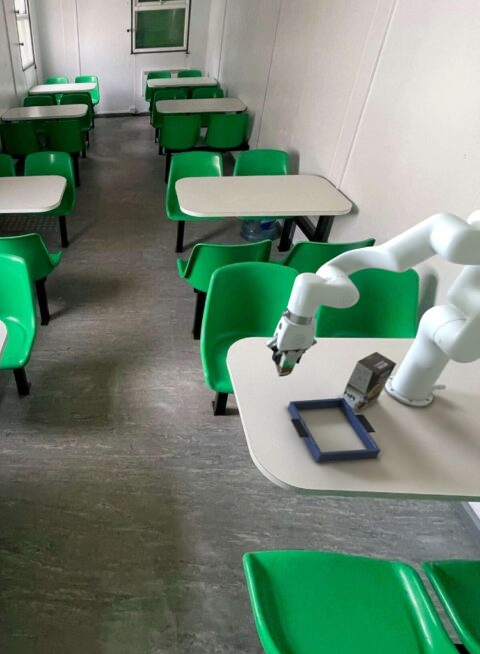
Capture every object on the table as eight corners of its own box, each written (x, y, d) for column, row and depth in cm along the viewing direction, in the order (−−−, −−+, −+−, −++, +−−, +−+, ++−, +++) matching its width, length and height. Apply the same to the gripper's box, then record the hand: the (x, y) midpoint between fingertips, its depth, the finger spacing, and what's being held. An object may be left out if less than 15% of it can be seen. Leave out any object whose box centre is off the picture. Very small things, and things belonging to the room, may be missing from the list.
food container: (301, 381, 126) (309, 356, 120) (279, 380, 127) (286, 355, 121) (291, 353, 136) (298, 329, 130) (271, 352, 136) (277, 328, 131)
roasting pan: (347, 404, 130) (351, 397, 128) (384, 457, 115) (389, 450, 113) (279, 409, 129) (282, 401, 127) (307, 463, 114) (311, 455, 112)
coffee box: (358, 412, 128) (377, 374, 118) (339, 398, 132) (356, 360, 123) (377, 401, 131) (397, 363, 121) (358, 387, 136) (376, 350, 126)
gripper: (275, 324, 116) (262, 371, 126) (336, 320, 116) (318, 368, 127) (265, 308, 122) (253, 354, 132) (323, 305, 122) (307, 351, 133)
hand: (285, 360), depth 130 cm, fingers closed on food container, 5 cm apart
